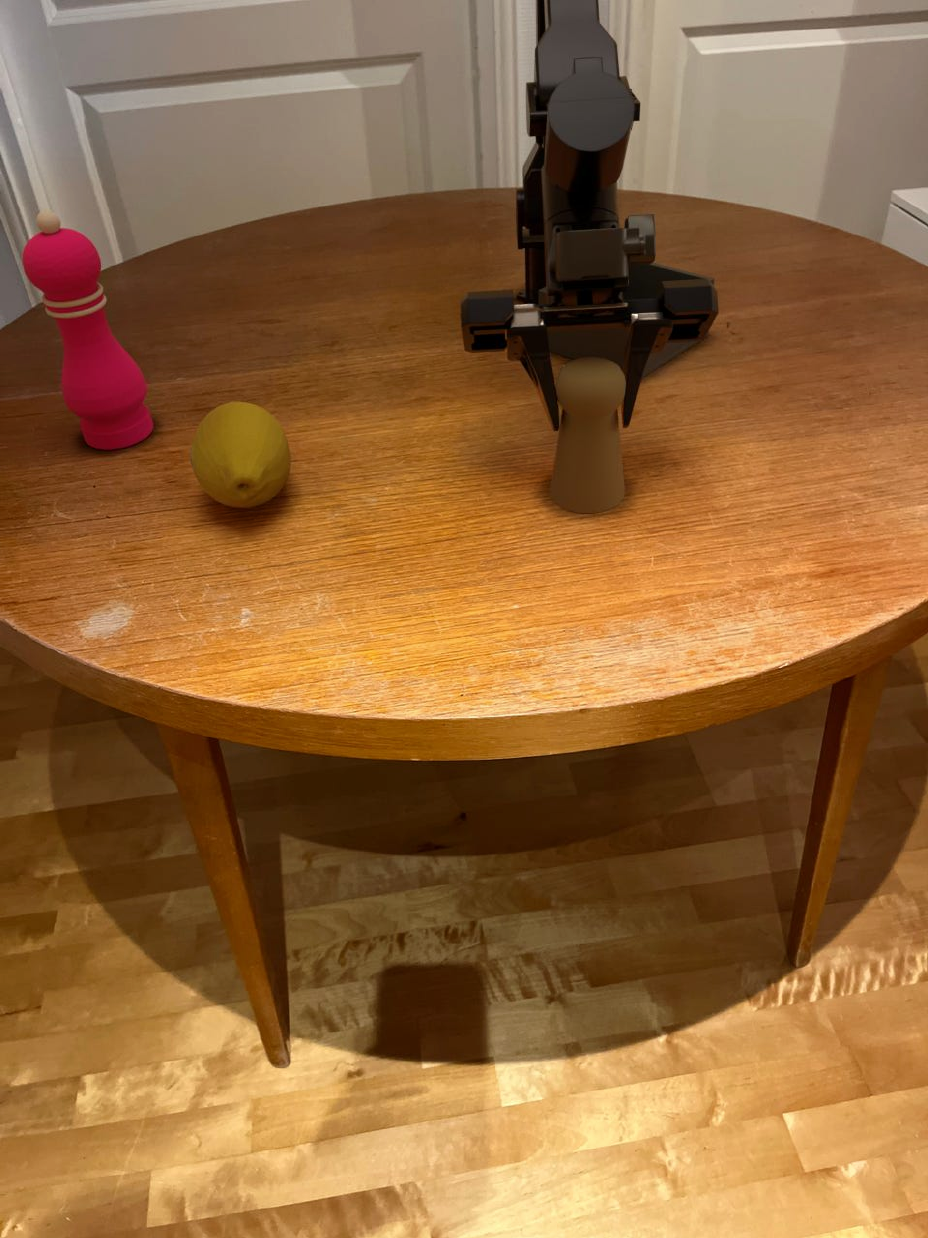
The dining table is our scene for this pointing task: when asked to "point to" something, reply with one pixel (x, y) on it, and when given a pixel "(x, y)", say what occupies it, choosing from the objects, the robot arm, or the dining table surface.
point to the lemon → (240, 455)
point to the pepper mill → (87, 338)
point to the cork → (589, 436)
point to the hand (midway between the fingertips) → (590, 428)
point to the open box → (614, 339)
